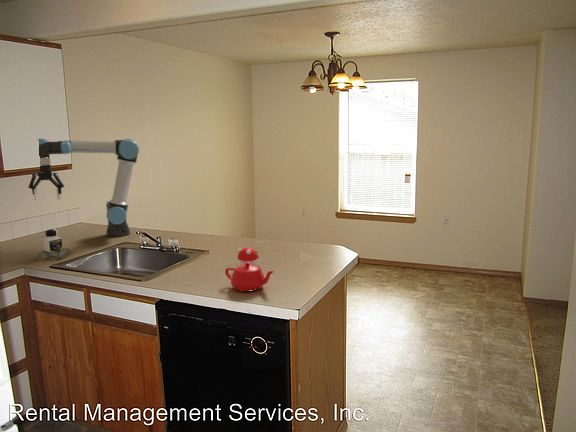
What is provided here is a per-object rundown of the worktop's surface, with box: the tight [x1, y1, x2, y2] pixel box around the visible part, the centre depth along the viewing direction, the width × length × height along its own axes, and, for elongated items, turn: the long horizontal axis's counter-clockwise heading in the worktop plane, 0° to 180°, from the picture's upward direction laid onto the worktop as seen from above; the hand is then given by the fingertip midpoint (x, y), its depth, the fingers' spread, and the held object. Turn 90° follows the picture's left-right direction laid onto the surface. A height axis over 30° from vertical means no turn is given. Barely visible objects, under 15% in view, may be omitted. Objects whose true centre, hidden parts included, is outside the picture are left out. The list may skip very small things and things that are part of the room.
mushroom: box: [237, 246, 260, 266], centre depth 238 cm, size 11×11×12 cm
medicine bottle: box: [42, 228, 64, 253], centre depth 267 cm, size 7×7×12 cm
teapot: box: [224, 262, 275, 292], centre depth 213 cm, size 25×16×12 cm, turn 66°
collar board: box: [35, 247, 73, 261], centre depth 269 cm, size 14×14×4 cm
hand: (47, 199), depth 288 cm, fingers open, 13 cm apart
